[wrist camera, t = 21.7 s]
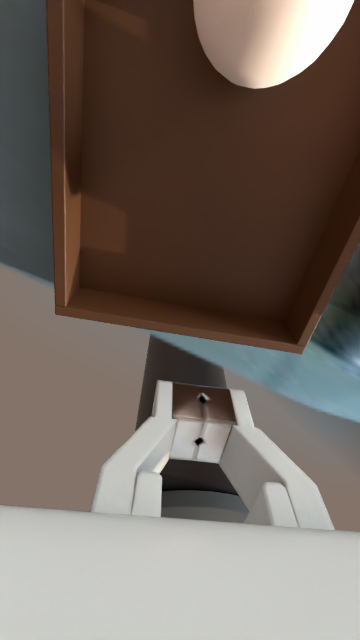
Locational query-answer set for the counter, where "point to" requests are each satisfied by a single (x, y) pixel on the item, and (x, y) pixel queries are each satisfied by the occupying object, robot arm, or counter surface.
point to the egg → (266, 36)
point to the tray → (197, 178)
